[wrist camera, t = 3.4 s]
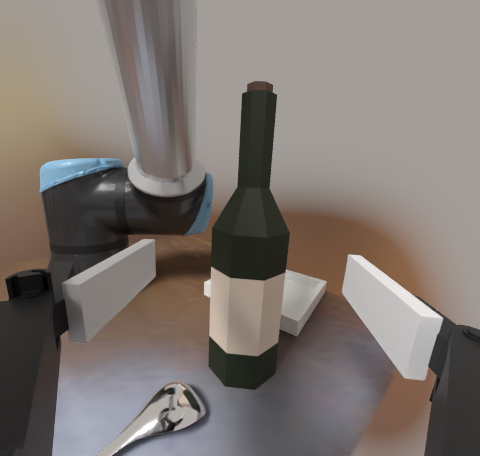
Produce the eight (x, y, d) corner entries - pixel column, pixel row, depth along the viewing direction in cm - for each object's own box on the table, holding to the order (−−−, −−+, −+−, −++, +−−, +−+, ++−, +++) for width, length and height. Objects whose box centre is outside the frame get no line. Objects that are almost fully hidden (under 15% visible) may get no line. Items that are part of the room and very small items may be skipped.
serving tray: (204, 294, 41) (204, 282, 41) (249, 268, 54) (250, 258, 54) (296, 336, 31) (298, 321, 31) (325, 292, 44) (326, 281, 44)
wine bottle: (261, 405, 22) (294, 55, 15) (193, 369, 25) (195, 74, 19) (284, 349, 29) (313, 97, 22) (229, 327, 33) (240, 104, 26)
